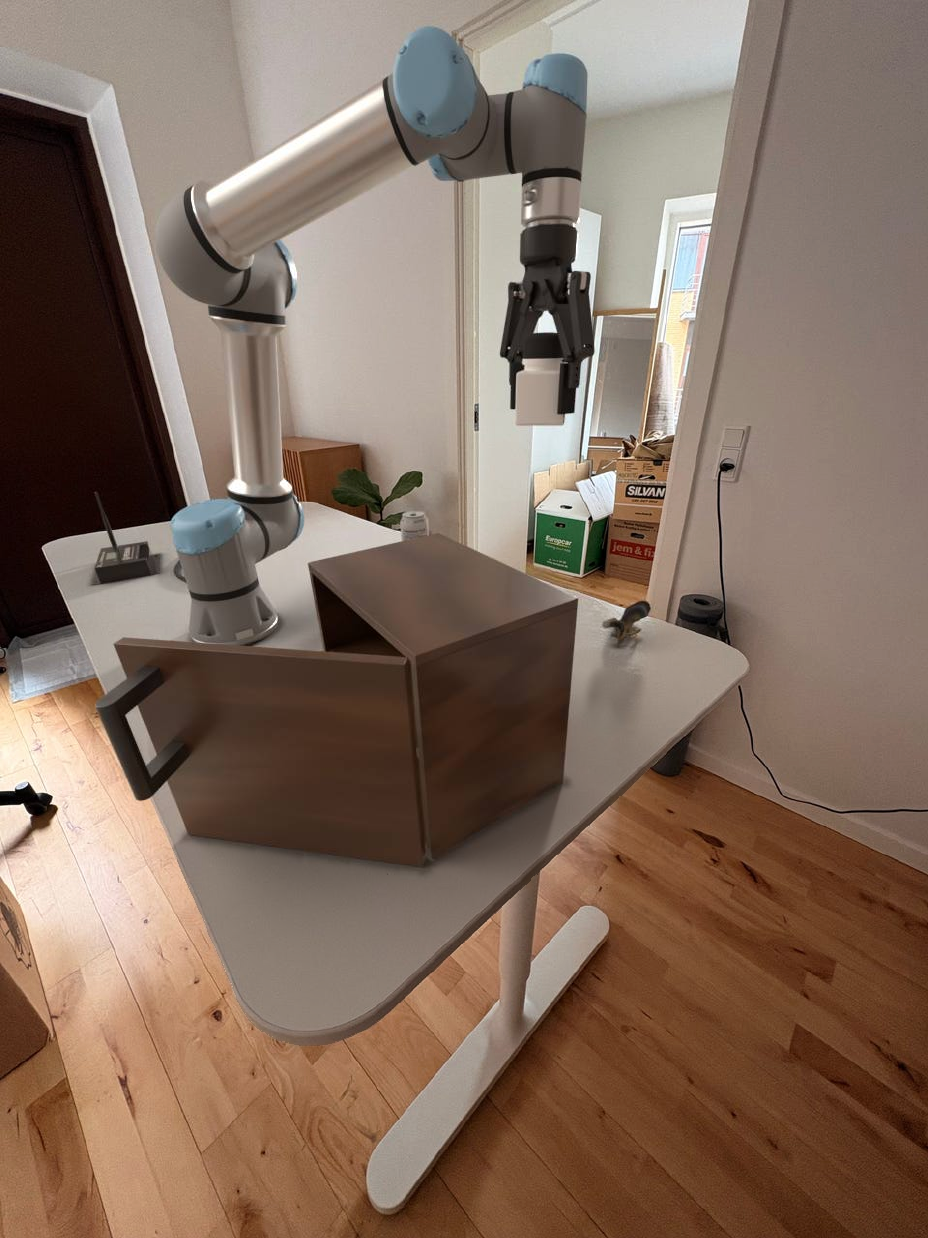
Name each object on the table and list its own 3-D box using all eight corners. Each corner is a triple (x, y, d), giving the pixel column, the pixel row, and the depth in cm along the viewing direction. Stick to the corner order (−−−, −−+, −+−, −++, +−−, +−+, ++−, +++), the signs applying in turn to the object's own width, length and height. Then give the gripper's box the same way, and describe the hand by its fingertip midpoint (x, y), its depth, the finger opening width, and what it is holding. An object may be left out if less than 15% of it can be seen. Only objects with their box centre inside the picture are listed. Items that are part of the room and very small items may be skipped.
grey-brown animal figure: (652, 648, 85) (660, 616, 91) (631, 615, 83) (640, 585, 89) (611, 659, 90) (621, 628, 96) (590, 628, 88) (602, 599, 94)
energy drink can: (433, 573, 120) (429, 509, 113) (429, 583, 114) (425, 517, 107) (408, 573, 120) (402, 509, 113) (402, 583, 115) (396, 517, 108)
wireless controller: (159, 573, 124) (136, 503, 116) (91, 585, 119) (62, 512, 111) (159, 549, 140) (139, 486, 132) (99, 559, 134) (75, 493, 126)
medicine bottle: (564, 425, 74) (570, 331, 69) (514, 425, 76) (517, 332, 70) (564, 419, 81) (570, 332, 75) (519, 419, 82) (521, 333, 76)
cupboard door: (407, 925, 46) (380, 710, 35) (149, 884, 50) (54, 681, 39) (426, 857, 52) (408, 657, 41) (194, 826, 56) (123, 637, 45)
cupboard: (431, 859, 52) (415, 656, 41) (336, 724, 71) (307, 562, 60) (563, 782, 61) (578, 598, 50) (446, 681, 80) (438, 532, 69)
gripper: (475, 239, 73) (476, 407, 84) (594, 204, 57) (577, 419, 67) (516, 244, 77) (512, 404, 87) (638, 212, 61) (616, 414, 71)
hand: (540, 410), depth 77 cm, fingers closed on medicine bottle, 10 cm apart
